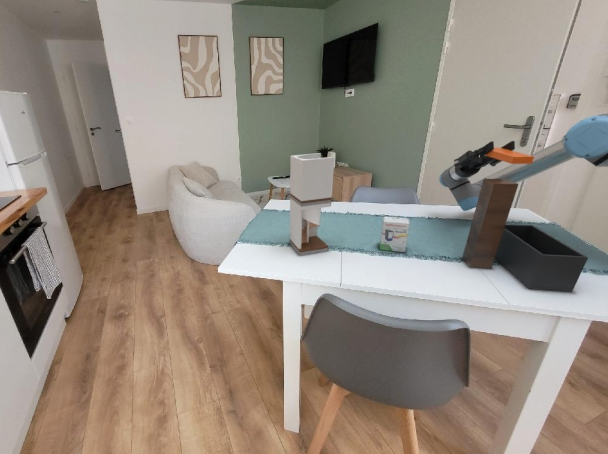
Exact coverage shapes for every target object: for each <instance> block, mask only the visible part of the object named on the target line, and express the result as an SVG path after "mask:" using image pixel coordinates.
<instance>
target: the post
mask: <svg viewBox="0 0 608 454" xmlns="http://www.w3.org/2000/svg"><path fill="white" fill-rule="evenodd" d="M483 179H484V178H483ZM518 187H519V183H515V182H513V181H510V180H508V179H484V180H483V183H482V187H481V191H480V194H479V198H478V202H477V205H476V207H475V208H474V214H473V217H472V220H471V224H470V228H469V231H468V234H467V238H466V242H465V245H464V249H463V253H462V257H461V259H462V260H463V261H464V262H465V263H466V265H467V266H468V267H469V268H475V269H492V267H493V264H494V261H495V255H496V252H497V249H498V246H499V243H500V240H501V237H502V234H503V231H504V227H505V224H507V221H508V218H509V215H510V212H511V209H512V205H513V202H514V199H515V196H516V193H517V191H518Z"/></svg>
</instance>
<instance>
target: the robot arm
mask: <svg viewBox="0 0 608 454" xmlns="http://www.w3.org/2000/svg"><path fill="white" fill-rule="evenodd" d="M494 143H495V142H494V141H493V140H492V141H489V142H488V143H486V144H485V145H483V146H481V147H480V148H478V149H475V150H467V151H465V152H464V153H463V154H462V155H461V156H458V157H457V158H455V159H454V160H453V165H451V166H449V167H448V168H447V169H445V170H443V171H442V173H441V174H440V176H439V178H438V180H439V183H440V185H442V186H443V187H445V188H448V189H449V191H450V193H451V194H452V196H453V197H454V199H455V201H456V203H457V205H458V206H459V207H460V209H461V211H464V212H467V211H471V210H472V209H476V205H477V202H478V198H479V194H480V191H481V187H482V183H483V180H484V179H508V180H510V181H513V182H515V183H517V184H519V183H521V182H523V181H526V180H528V179H530V178H532V177H535V176H537V175H539V174H542V173H544V172H545V171H549V170H550V169H551V170H552V168H555V167H557V166H560V165H563V164H564V163H567V162H569V161H571V160H573V159H576V158H577V159H584V160H586V161H587V162H589V163H590V164H592V165H593V166H595V167H596V168H608V113H603V114H597V115H592V116H589V117H586V118H583V119H581V120H579V121H578V122H577V123H575V124H573V126H571V127H570V128H569V130H568V131H567V132H566V133H565V135H563V136H562V138H561V140H559V141H557V142H555V143H552V144H551V145H548V146H546V147H545V148H542V149H541V150H539V151H537V152H534V153H532V154H531V155H530V154H529V155H530V156H534V159H533V162H532V164H510V165H508V166H505V167H504V168H502V169H500V170H498V171H496V172H494V173H492V174H490V175H488V176H486V177H484V178H482V179H480V180H477V181H475V182H473V183H471V181H470V180H469V178H471V177H472V176H475V175H476V174H478V173H479V172H480V171H481V169H482V168H484V167H486V166H487V165H489V166H490V167H496V166H497V164H500V163H502V162H503V161H501V160H498V159H495V158H492V157H489V156H486V154H487V153H489V152H491V151H492V150H494V148H495V144H494ZM500 148H503V149H507V150H510V151H515V149H516V142H515V140H511V141H509V142H508V143H506V144H505V145H502V146H501V147H500Z"/></svg>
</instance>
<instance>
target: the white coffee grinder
mask: <svg viewBox="0 0 608 454" xmlns="http://www.w3.org/2000/svg"><path fill="white" fill-rule="evenodd" d="M289 163H290V164H289V165H290V166H289V167H290V168H289V171H290V172H289V173H290V174H289V244H290V246H291V247H292V248H293V249H294V250H295V252H297V254H298V255H299V256H304V255H305V256H306V255H311V254H316V253H317V254H318V253H323V252H328V251H329V245H328V244H327V243H326V242H325V241H324V240H322V239H321V238H320V237H319V236H318V227H321V218H322V208H323V209H324V208H330V207H332V199H333V185H334V170H335V169H334V168H335V156H330V157H322V153H321V152H317V153H306V154H293V155H290V162H289Z"/></svg>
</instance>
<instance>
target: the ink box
mask: <svg viewBox="0 0 608 454" xmlns="http://www.w3.org/2000/svg"><path fill="white" fill-rule="evenodd" d="M381 224H382V225H381V231H380V238H379V250H381V251H388V252H390V251H391V252H398V253H406V250H407V249H406V248H407V244H408V236H409V231H410V226H411V222H410V219H409V218H407V217H395V216H383V218H382V223H381Z"/></svg>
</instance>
